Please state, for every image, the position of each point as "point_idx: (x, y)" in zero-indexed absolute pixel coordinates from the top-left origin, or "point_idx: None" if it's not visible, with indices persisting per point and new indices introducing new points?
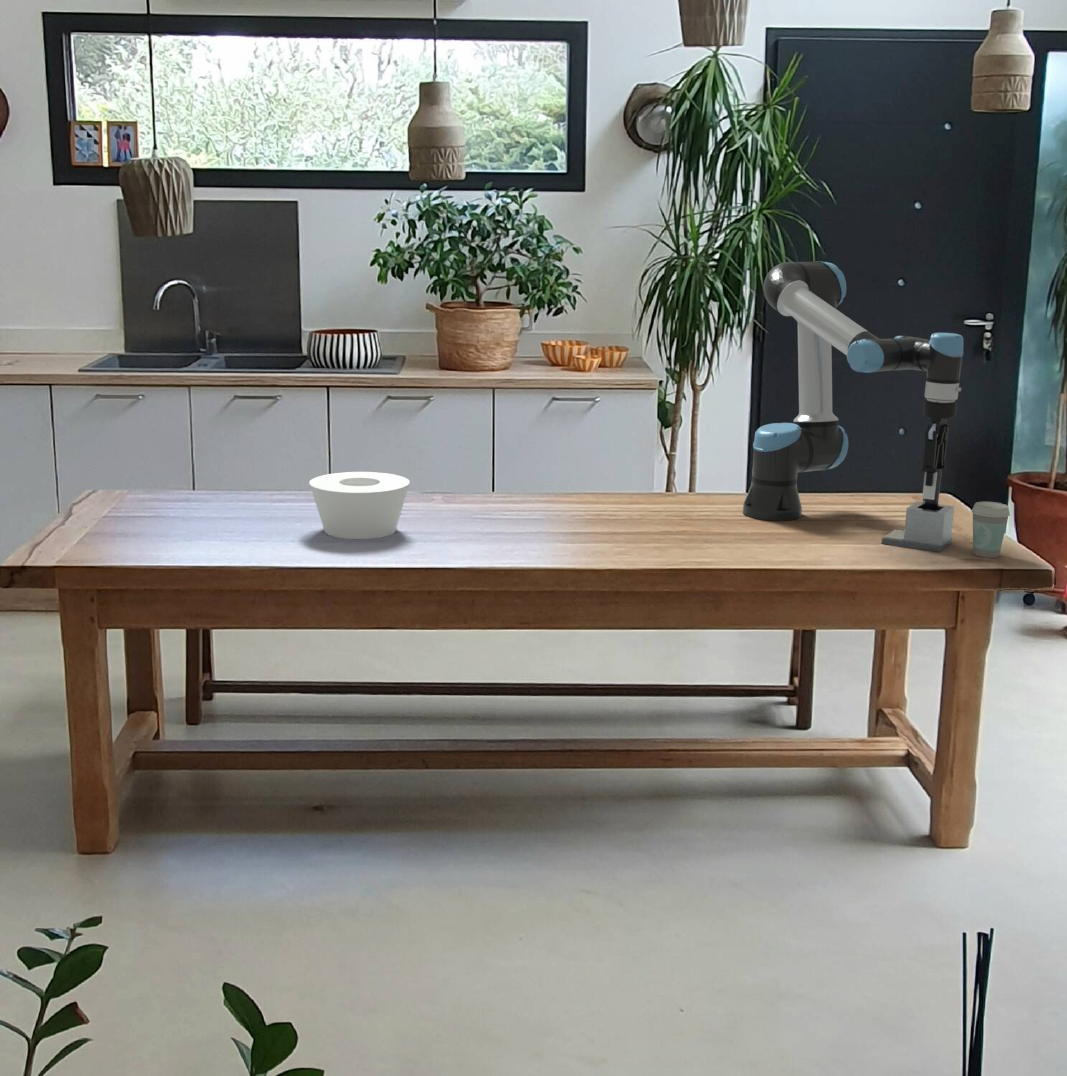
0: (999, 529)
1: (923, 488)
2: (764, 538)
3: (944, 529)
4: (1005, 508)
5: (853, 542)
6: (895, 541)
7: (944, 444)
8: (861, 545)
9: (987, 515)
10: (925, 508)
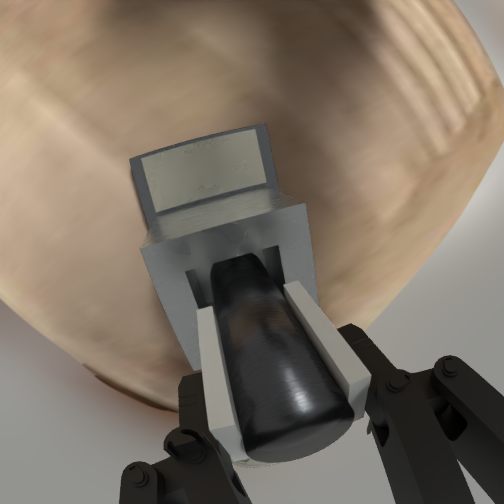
0: None
1: (199, 343)
2: (15, 5)
3: None
4: (263, 466)
5: (89, 105)
6: (140, 198)
7: (486, 486)
8: (77, 138)
9: None
10: (213, 293)
